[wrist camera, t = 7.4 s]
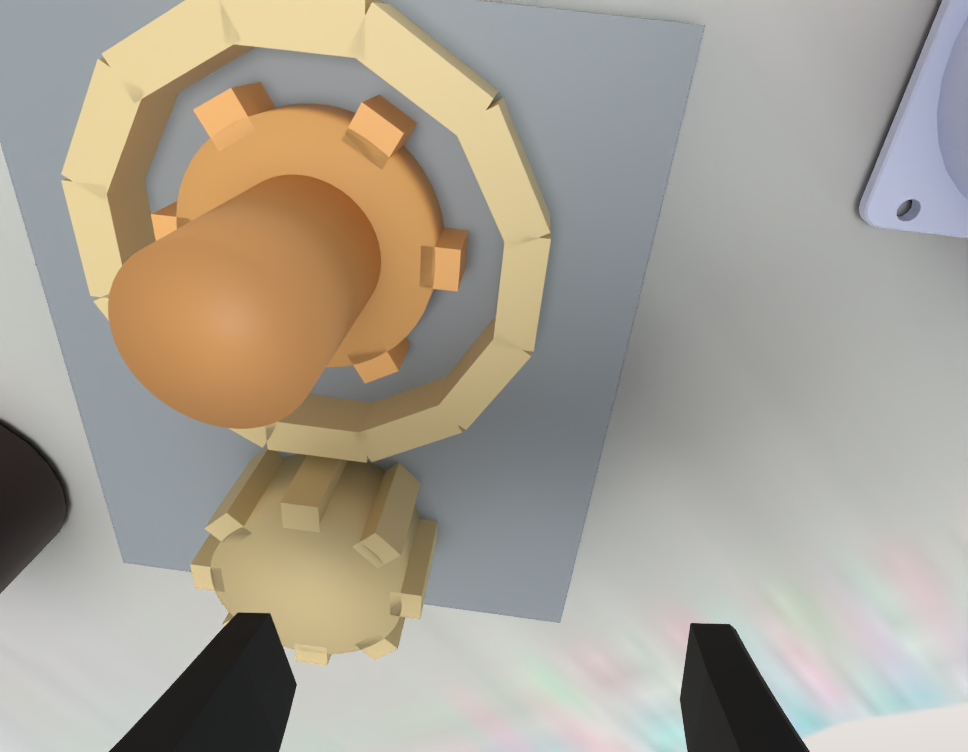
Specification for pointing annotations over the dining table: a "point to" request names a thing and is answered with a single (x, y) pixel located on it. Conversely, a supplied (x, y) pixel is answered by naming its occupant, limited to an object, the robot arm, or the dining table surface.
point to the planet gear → (283, 259)
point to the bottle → (25, 505)
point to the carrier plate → (433, 341)
